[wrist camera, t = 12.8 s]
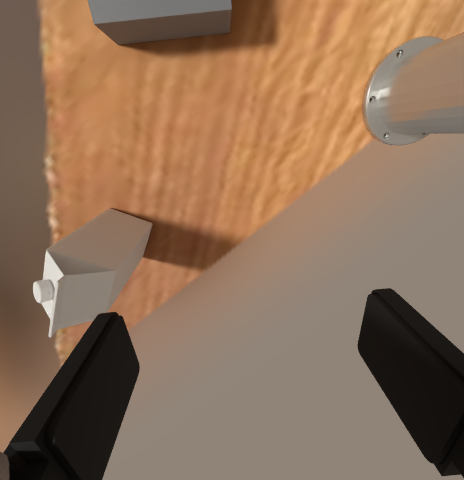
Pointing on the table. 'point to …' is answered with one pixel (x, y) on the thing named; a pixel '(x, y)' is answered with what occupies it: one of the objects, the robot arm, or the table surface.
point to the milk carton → (90, 268)
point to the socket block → (160, 19)
